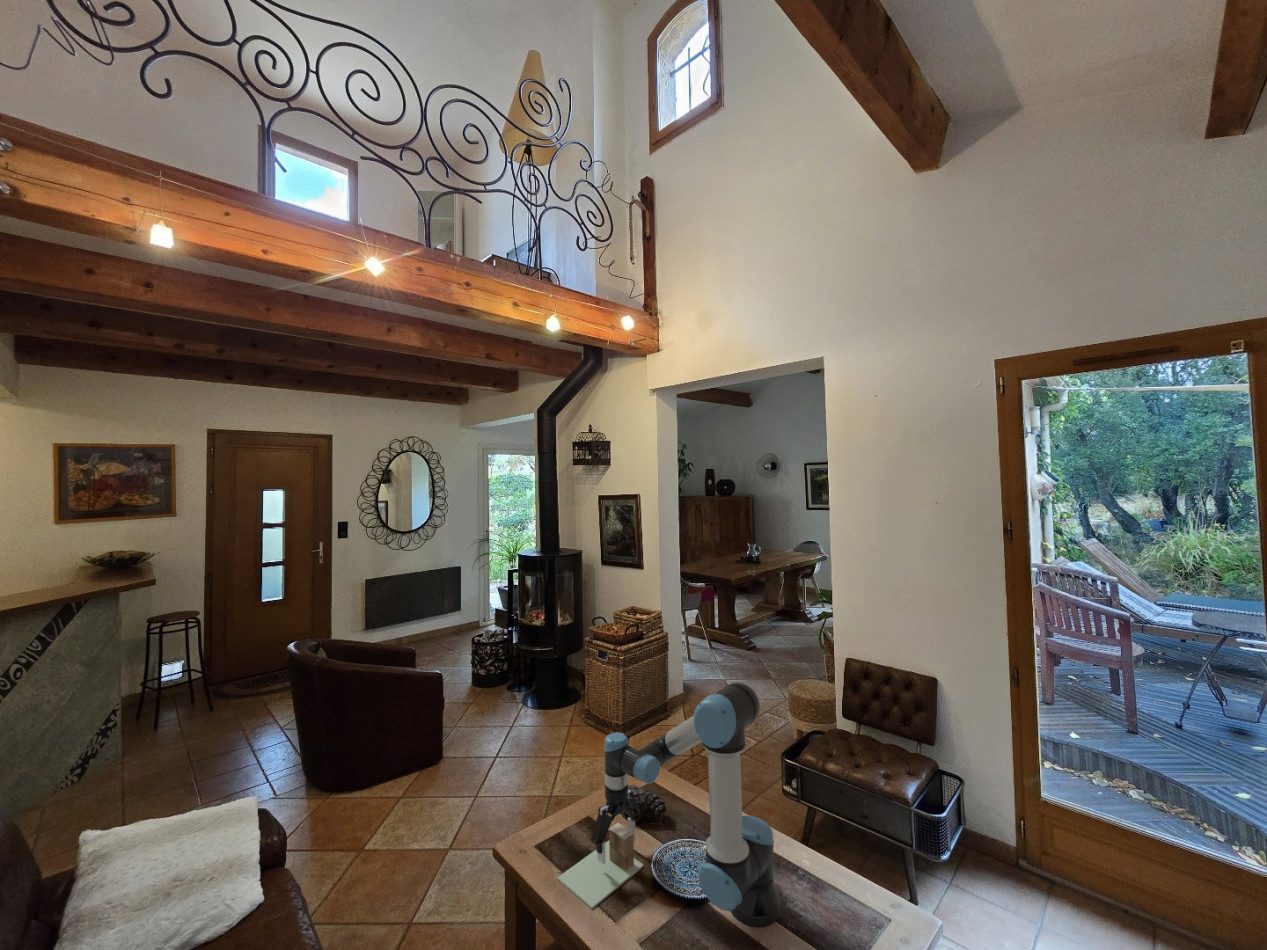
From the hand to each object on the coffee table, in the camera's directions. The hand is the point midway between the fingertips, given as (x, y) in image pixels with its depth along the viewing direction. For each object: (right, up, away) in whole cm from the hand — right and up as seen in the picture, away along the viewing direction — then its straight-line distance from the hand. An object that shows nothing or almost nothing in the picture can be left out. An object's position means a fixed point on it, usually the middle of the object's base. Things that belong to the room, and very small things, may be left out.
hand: (616, 850), depth 163 cm
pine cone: (+9, -4, +22) cm, 24 cm away
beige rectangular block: (+2, -3, -2) cm, 3 cm away
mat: (-5, -3, -5) cm, 8 cm away
